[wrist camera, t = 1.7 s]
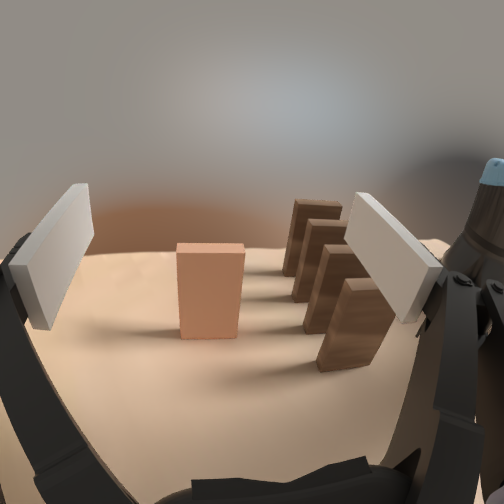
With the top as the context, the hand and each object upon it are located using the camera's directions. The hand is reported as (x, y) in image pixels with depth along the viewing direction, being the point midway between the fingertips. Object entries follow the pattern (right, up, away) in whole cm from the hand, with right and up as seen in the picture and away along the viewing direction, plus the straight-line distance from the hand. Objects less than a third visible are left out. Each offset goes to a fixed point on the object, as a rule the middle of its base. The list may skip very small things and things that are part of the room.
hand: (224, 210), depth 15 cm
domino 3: (+9, -8, +26) cm, 29 cm away
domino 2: (+9, -5, +31) cm, 32 cm away
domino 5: (+11, -14, +17) cm, 25 cm away
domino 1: (-3, -11, +19) cm, 22 cm away
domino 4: (+10, -11, +22) cm, 26 cm away
